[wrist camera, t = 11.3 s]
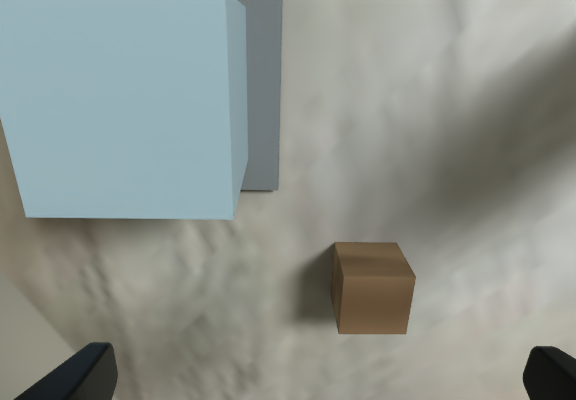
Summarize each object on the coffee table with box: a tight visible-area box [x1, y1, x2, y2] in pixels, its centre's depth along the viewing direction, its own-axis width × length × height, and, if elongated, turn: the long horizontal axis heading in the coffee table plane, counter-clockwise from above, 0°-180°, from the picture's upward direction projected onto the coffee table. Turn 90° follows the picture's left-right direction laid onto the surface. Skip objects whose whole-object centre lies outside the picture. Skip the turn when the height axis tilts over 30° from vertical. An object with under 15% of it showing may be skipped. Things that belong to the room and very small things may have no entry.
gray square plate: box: [238, 0, 282, 190], centre depth 19 cm, size 10×10×1 cm
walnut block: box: [331, 242, 416, 334], centre depth 21 cm, size 4×4×4 cm
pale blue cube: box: [0, 0, 248, 220], centre depth 15 cm, size 7×7×7 cm
